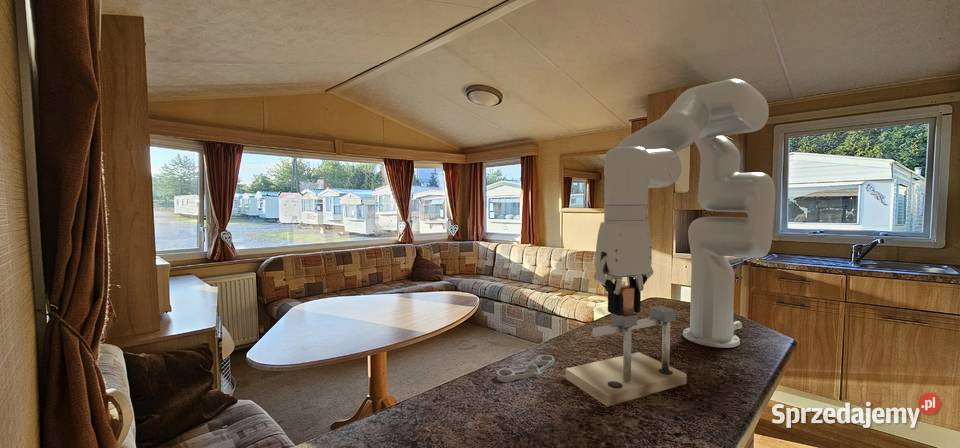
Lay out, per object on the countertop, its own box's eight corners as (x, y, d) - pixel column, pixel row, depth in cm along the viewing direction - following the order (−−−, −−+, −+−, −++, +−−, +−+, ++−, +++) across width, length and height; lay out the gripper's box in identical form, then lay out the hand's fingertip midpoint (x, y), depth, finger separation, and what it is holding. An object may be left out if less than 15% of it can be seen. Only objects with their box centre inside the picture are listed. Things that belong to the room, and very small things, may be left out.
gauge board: (638, 360, 87) (638, 351, 87) (686, 383, 76) (686, 373, 76) (565, 378, 79) (565, 368, 79) (607, 406, 68) (607, 395, 68)
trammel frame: (660, 364, 81) (662, 305, 80) (675, 371, 77) (677, 309, 76) (589, 382, 73) (590, 317, 72) (603, 390, 70) (604, 322, 69)
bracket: (487, 363, 83) (549, 352, 88) (488, 372, 84) (549, 360, 89) (501, 378, 76) (567, 365, 81) (501, 387, 76) (567, 374, 82)
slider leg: (622, 372, 76) (624, 284, 75) (637, 379, 73) (639, 287, 72) (608, 375, 75) (610, 285, 74) (622, 383, 72) (624, 289, 70)
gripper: (642, 213, 79) (640, 302, 80) (576, 215, 72) (575, 312, 73) (674, 214, 72) (672, 312, 73) (604, 216, 65) (603, 324, 66)
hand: (623, 311), depth 73 cm, fingers closed on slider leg, 3 cm apart
